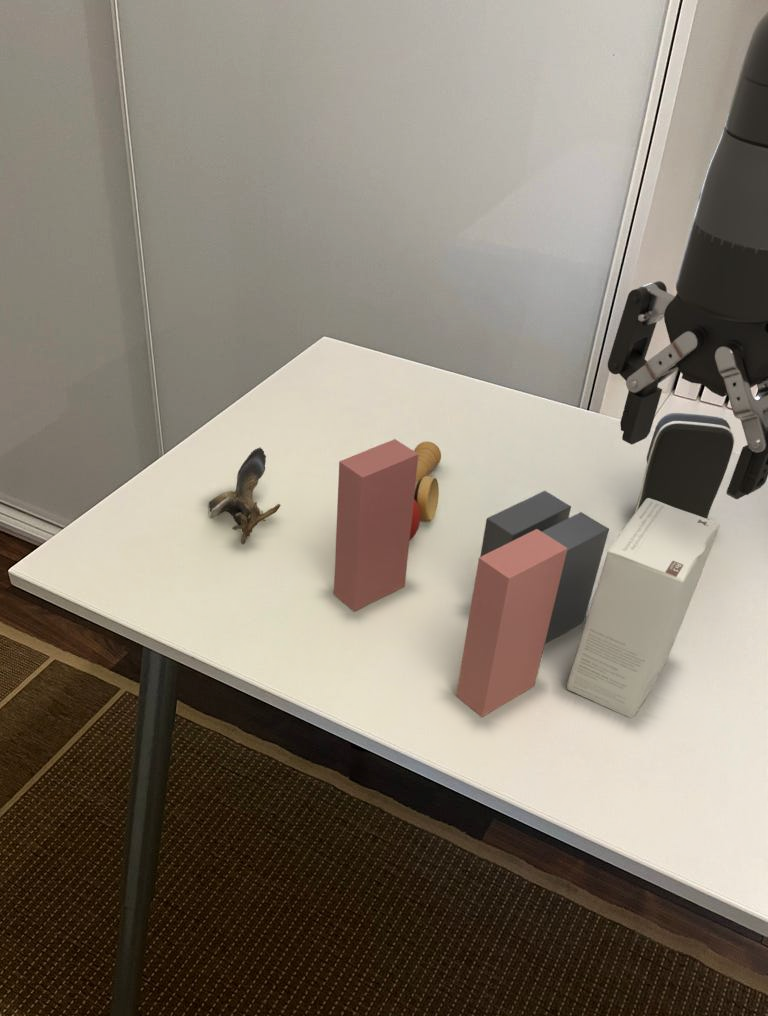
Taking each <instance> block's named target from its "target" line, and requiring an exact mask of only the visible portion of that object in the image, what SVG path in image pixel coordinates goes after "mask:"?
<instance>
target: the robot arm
mask: <svg viewBox="0 0 768 1016" xmlns="http://www.w3.org/2000/svg"><path fill="white" fill-rule="evenodd" d="M701 188H702V189H701V191H700V193H699V196H698V202H697V205H696V206H697V207H696V210H695V213H694V217H693V221H692V224H691V229H690V231H689V235H688V238H687V243H686V246H685V250H684V253H683V257H682V261H681V263H680V268H679V271H678V274H677V279H676V283H675V290H676V293H675V295H673V294H671V293H669V292H668V288H667V285H666V283H664V282H663V281H660V280H658V281H657V280H656V281H654V282H650V283H647V284H645V285H642V286H639V287H637V288H634V289H632V290H630V291H629V292H628V295H627V298H626V301H625V303H624V308H623V310H622V314H621V317H620V321H619V323H618V328H617V331H616V333H615V337H614V341H613V344H612V347H611V351H610V354H609V357H608V360H607V370H608V371H609V373H611V374H612V375H620V376H621V378H622V379H624V380H625V385H626V388H627V390H628V392H627V396H626V399H625V403H624V406H623V411H622V415H621V418H620V422H619V423H620V431H622V432H623V433H622V436H621V439H622V441H624V442H626V443H627V444H629V445H632V446H633V445H634V444H637V443H639V442H641V441H643V440H645V439H647V437H649V435H650V433H651V430H652V427H653V424H654V420H655V417H656V416H655V415H656V413H657V409H658V406H659V402H660V399H661V395H662V392H663V388H661V387H659V383H661V382H663V381H664V380H666V379H667V378H669V377H670V376H671V375H672V374H674V373H675V372H677V371H679V372H680V373H681V374H682V375H681V379H682V380H685V381H687V382H688V383H691V384H696V385H697V384H698V385H703V386H704V387H705V388H706V389H707V390H709V391H710V392H711V393H713V394H715V395H718V396H720V397H722V398H724V397H726V396H728V400H729V403H730V407H731V410H732V413H733V414H732V415H733V416H734V418H736V419H737V420H739V421H740V422H741V423H740V424H741V425H742V429H743V433H744V437H745V440H746V445H744V446H743V447H742V448H741V451H740V453H739V456H738V459H737V461H736V465H735V467H734V470H733V473H732V475H731V478H730V480H729V483H728V487H727V489H726V495H727V496H729V497H731V498H732V499H734V500H739V499H741V498H743V497H745V496H748V495H750V494H752V493H754V492H756V491H757V490H759V489H761V488H762V487H763V486H764V485H765V484H766V482H767V480H768V11H767V12H766V13H765V14H764V15H763V16H762V17H761V18H760V20H759V21H758V22H757V24H756V26H755V27H754V30H753V32H752V33H751V36H750V39H749V41H748V45H747V47H746V51H745V53H744V56H743V60H742V64H741V67H740V70H739V75H738V78H737V82H736V86H735V89H734V93H733V96H732V100H731V103H730V107H729V110H728V114H727V116H726V121H725V124H724V128H723V130H722V133H721V136H720V140H719V141H718V144H717V146H716V149H715V151H714V153H713V156H712V158H711V161H710V163H709V166H708V169H707V171H706V174H705V177H704V181H703V185H702V187H701ZM662 320H664V324H665V328H666V333H667V335H668V336H667V337H668V340H669V343H670V344H669V345H667V346H666V347H664V348H663V349H662V350H660V351H659V352H658V353H656V354H655V355H654V356H652V357H651V358H649V359H648V360H646V356H647V355H648V351H649V347H650V345H651V342H652V338H653V335H654V332H655V329H656V327H657V324H658V322H660V321H662ZM755 386H756V388H757V395H756V396H755V397H754V396H753V393H752V389H751V388H754V387H755Z"/></svg>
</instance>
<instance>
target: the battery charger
mask: <svg viewBox="0 0 768 1016" xmlns="http://www.w3.org/2000/svg"><path fill="white" fill-rule="evenodd" d="M734 445H735V436H734V432H733V430H732V428H731V426H730V423H728V420H726V419H724V418H723V417H719V416H714V415H705V414H698V413H697V414H696V413H685V412H671V413H667V414H665V415H664V416H662V417H661V418H660V420H658V422H657V424H656V426H655V429H654V431H653V434H652V437H651V441H650V444H649V448H648V451H647V455H646V466H645V471H644V475H643V478H642V479H643V480H642V483H641V490H640V492H639V496H638V499H637V501H636V502H637V503H636V506H635V509H634V512H633V515H634V514H635V513H636V511H637V510H638V509H639V508H640V506H641V505H642V504H643V502H644V501H645V500H646V499H647V498H650V499H653V500H656V501H659V502H662V503H664V504H667V505H669V506H672V507H674V508H677V509H680V510H683V511H686V512H689V513H692V514H695V515H698V516H700V517H703V518H706V519H708V518H709V514H710V511H711V509H712V507H713V503H714V502H715V499H716V497H717V494H718V492H719V490H720V487H721V485H722V482H723V480H724V477H725V474H726V472H727V469H728V466H729V463H730V460H731V457H732V453H733V450H734Z"/></svg>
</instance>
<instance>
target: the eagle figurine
mask: <svg viewBox="0 0 768 1016" xmlns="http://www.w3.org/2000/svg"><path fill="white" fill-rule="evenodd" d="M266 458H267V455H266V454H265V451H264V449H263V448H262V447H261V446H259V447H257V448H255V449H254V450H252V451H251V452H250V454H249V455H248V456H247V457H246V459H245V460H244V461H243V463H242V465H241V466H240V468H239V469H238V472H237V475H236V487H235V490H229V491H224V492H222V493H220V494H219V495H217V496H215V497H214V498H212V499H211V500H210V501H208V507H209V518H210V519H215V518H217V517H219V516H220V515H222V514H224V513H228V514H229V515H230V517H232V518H233V521H234V523H236V524H235V525H234V526H231V529H232V530H233V531H237V530H241V540H240V543H241V544H242V545H244V544H245V543H246V540H247V539H248V537H250V536H251V533H252V532H253V530H254V528H256V526H258V524H259V523H260V522H262V521H267V519H266V518H268V517H270V516H272V515H274V514H276V513H277V512H278V510H279V509H280V507H281V504H280V503H277V504H276V505H275V506H274V507H271V508H269V509H268V510H266V511H265V512H264V511H263V510H262V508H261V509H260V507H258V502H257V501H254V499H253V498H254V497H253V496H254V495H253V493H254V490H255V488H256V487H257V486H258V484H259V481H260V479H261V478H262V477H263V476H264V473H265V472H266V462H267V461H266V460H267V459H266Z"/></svg>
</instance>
